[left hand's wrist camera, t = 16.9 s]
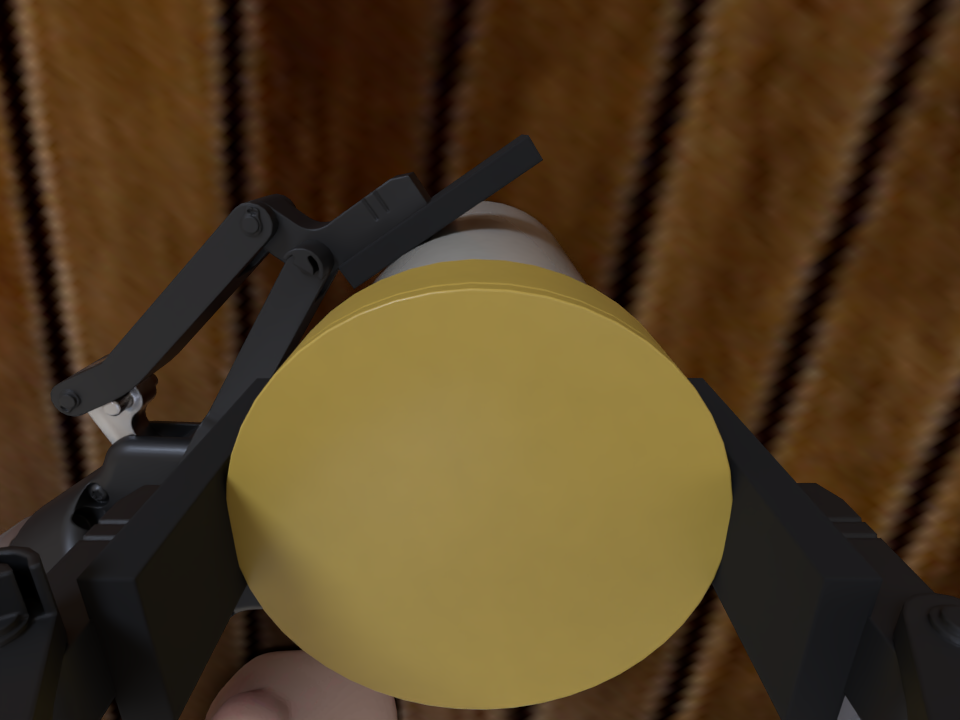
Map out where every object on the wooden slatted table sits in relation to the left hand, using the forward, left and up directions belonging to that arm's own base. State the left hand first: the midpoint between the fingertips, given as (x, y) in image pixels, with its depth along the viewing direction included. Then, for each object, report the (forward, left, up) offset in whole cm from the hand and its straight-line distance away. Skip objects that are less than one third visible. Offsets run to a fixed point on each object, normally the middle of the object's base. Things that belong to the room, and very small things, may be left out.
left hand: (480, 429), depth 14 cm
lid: (0, 0, +4) cm, 4 cm away
